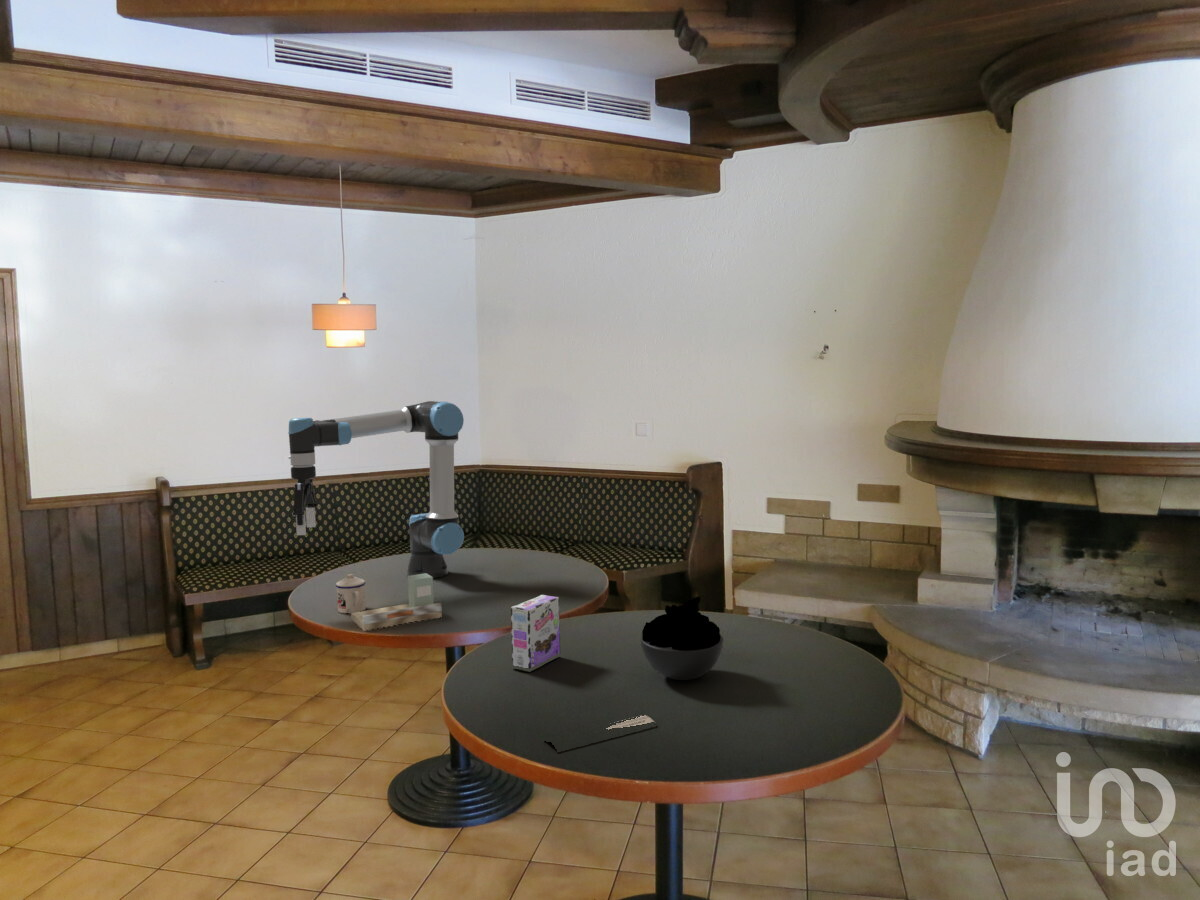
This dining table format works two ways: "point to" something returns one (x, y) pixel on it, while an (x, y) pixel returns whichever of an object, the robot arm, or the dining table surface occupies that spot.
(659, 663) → the bowl of black rocks
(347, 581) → the teacup with lid
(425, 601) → the tin
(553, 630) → the candy box
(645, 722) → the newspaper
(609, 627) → the dining table surface
